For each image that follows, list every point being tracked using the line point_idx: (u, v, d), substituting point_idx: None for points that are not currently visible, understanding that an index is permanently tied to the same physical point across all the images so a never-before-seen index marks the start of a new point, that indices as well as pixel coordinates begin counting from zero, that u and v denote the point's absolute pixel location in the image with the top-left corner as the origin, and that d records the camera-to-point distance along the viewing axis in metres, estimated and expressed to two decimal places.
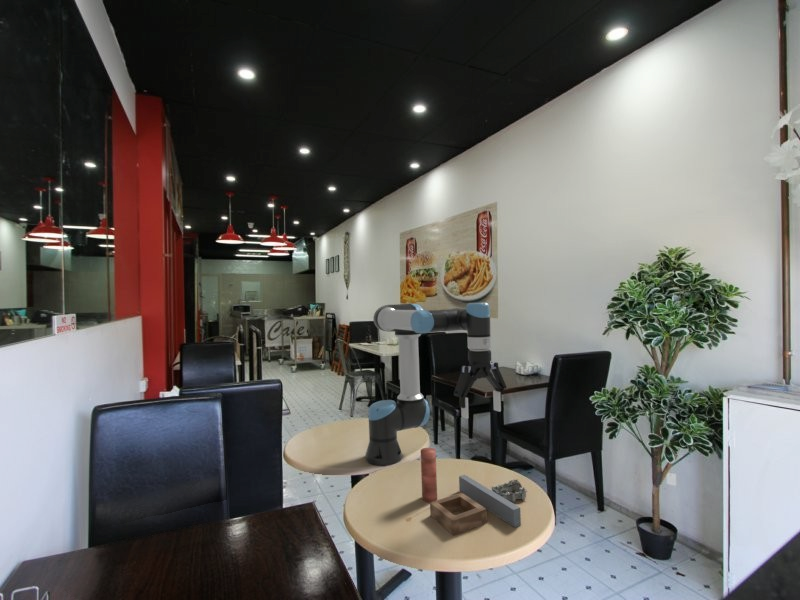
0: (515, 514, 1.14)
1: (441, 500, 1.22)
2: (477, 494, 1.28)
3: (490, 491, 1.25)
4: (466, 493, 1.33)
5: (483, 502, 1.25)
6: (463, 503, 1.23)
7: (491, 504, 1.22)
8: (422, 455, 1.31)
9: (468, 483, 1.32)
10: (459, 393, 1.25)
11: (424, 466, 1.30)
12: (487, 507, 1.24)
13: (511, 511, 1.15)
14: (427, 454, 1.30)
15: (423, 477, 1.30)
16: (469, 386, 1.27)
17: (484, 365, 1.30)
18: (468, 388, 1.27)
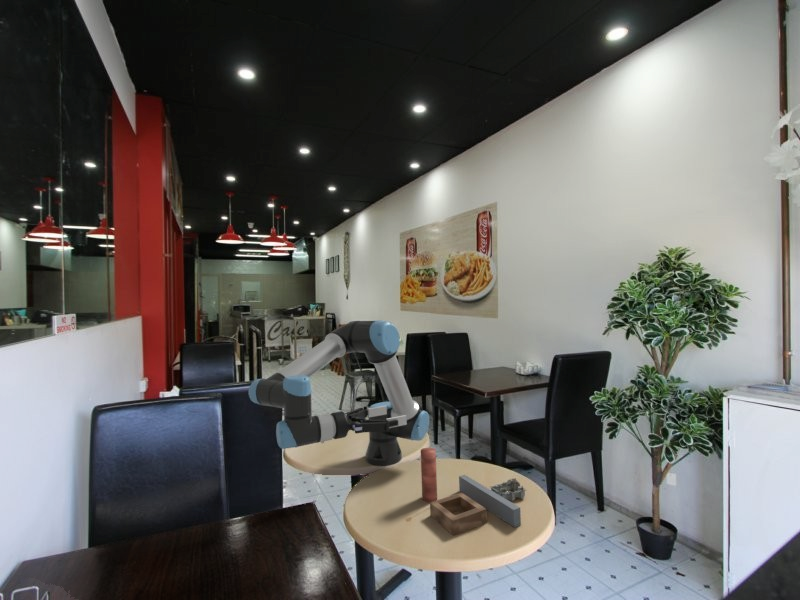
0: (515, 514, 1.14)
1: (441, 500, 1.22)
2: (477, 494, 1.28)
3: (490, 491, 1.25)
4: (466, 493, 1.33)
5: (483, 502, 1.25)
6: (463, 503, 1.23)
7: (491, 504, 1.22)
8: (422, 455, 1.31)
9: (468, 483, 1.32)
10: None
11: (424, 466, 1.30)
12: (487, 507, 1.24)
13: (511, 511, 1.15)
14: (427, 454, 1.30)
15: (423, 477, 1.30)
16: None
17: None
18: None
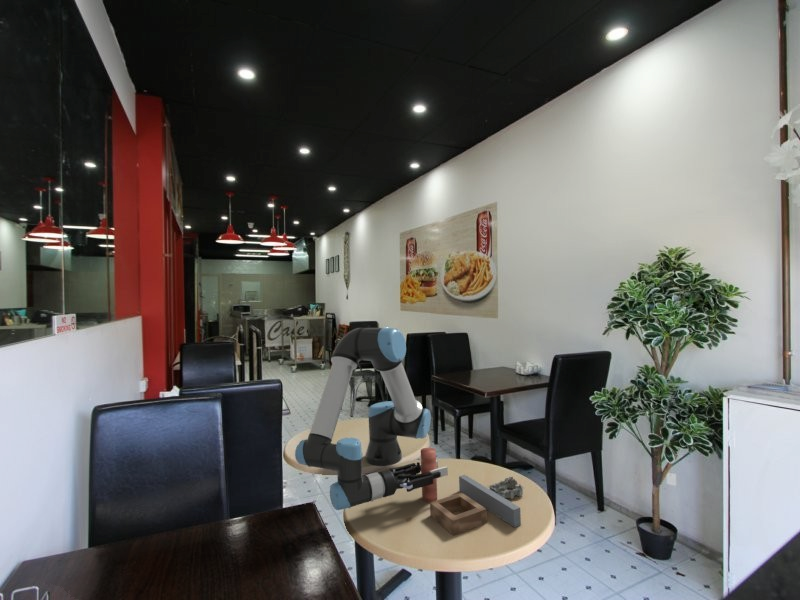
0: (515, 514, 1.14)
1: (441, 500, 1.22)
2: (477, 494, 1.28)
3: (490, 491, 1.25)
4: (466, 493, 1.33)
5: (483, 502, 1.25)
6: (463, 503, 1.23)
7: (491, 504, 1.22)
8: (422, 455, 1.31)
9: (468, 483, 1.32)
10: None
11: (424, 466, 1.30)
12: (487, 507, 1.24)
13: (511, 511, 1.15)
14: (427, 454, 1.30)
15: None
16: None
17: None
18: None
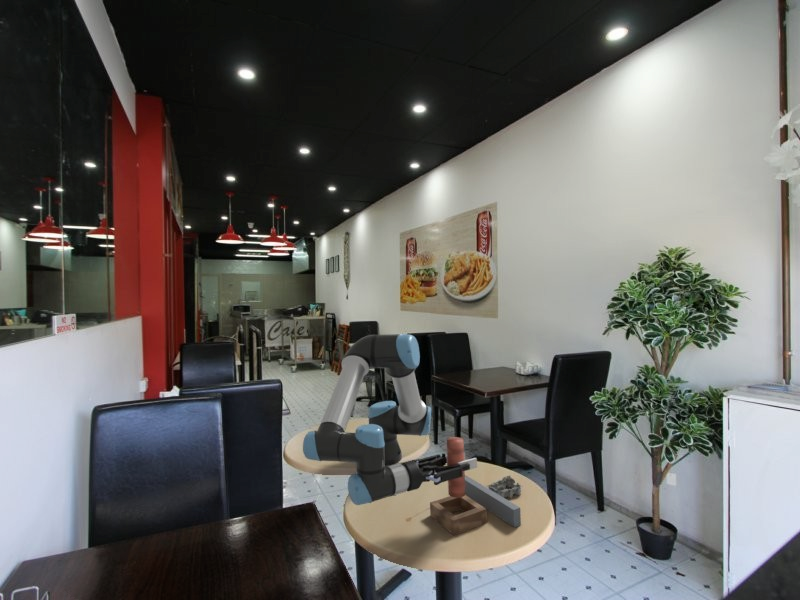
0: (515, 514, 1.14)
1: (441, 500, 1.22)
2: (477, 494, 1.28)
3: (490, 491, 1.25)
4: (466, 493, 1.33)
5: (483, 502, 1.25)
6: (463, 503, 1.23)
7: (491, 504, 1.22)
8: (449, 445, 1.17)
9: (468, 483, 1.32)
10: None
11: (451, 457, 1.17)
12: (487, 507, 1.24)
13: (511, 511, 1.15)
14: (455, 444, 1.16)
15: None
16: None
17: None
18: None
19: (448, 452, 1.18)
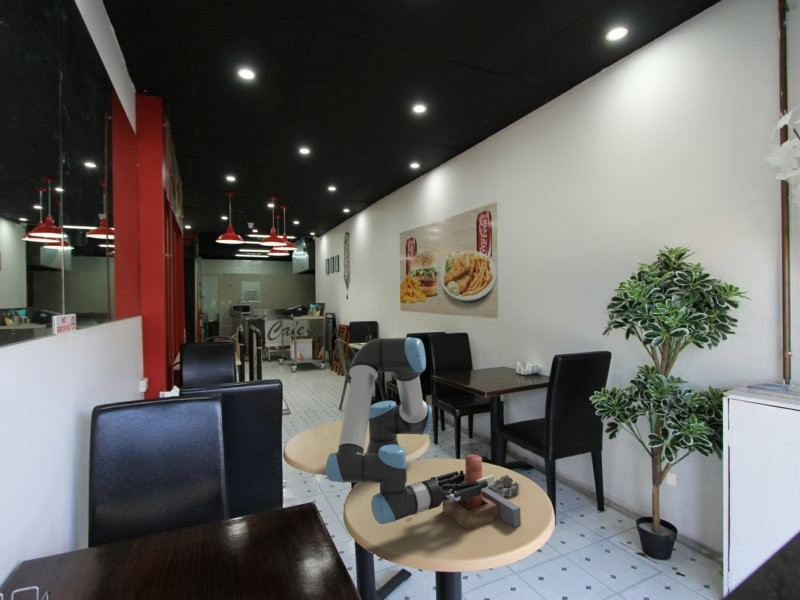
0: (515, 514, 1.14)
1: None
2: None
3: (490, 491, 1.25)
4: None
5: None
6: None
7: None
8: (468, 462, 1.21)
9: None
10: None
11: (469, 475, 1.20)
12: None
13: (511, 511, 1.15)
14: (474, 462, 1.20)
15: None
16: None
17: None
18: None
19: (467, 469, 1.21)
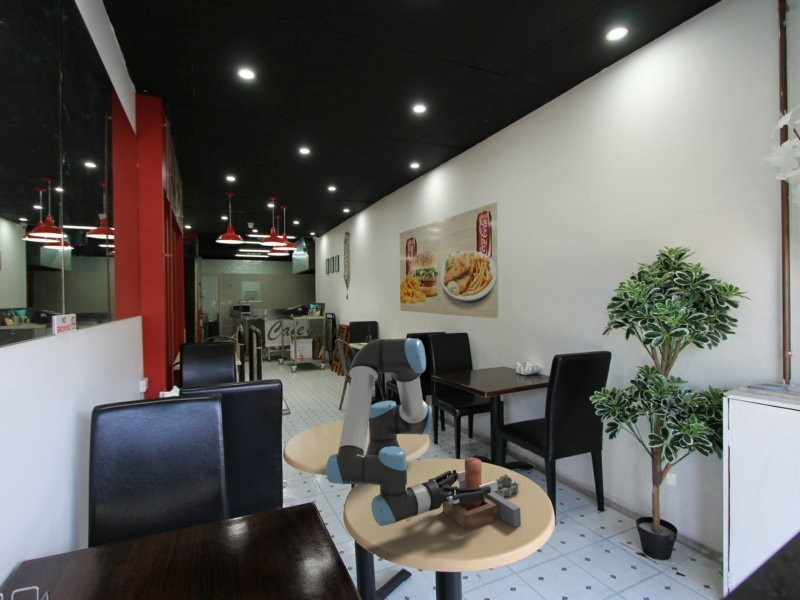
0: (515, 514, 1.14)
1: None
2: None
3: None
4: None
5: None
6: None
7: None
8: (467, 466, 1.21)
9: None
10: None
11: (468, 478, 1.20)
12: None
13: (511, 511, 1.15)
14: (473, 465, 1.20)
15: None
16: None
17: None
18: None
19: (466, 473, 1.21)
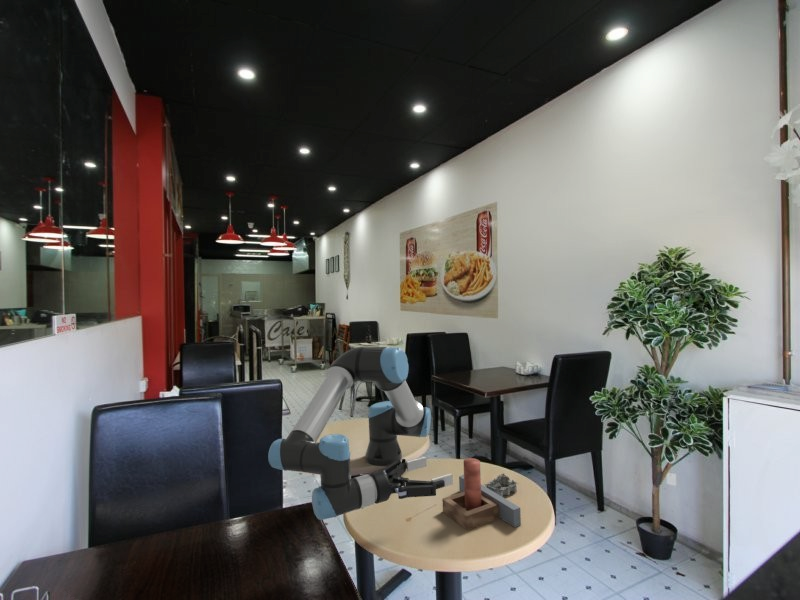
0: (515, 514, 1.14)
1: (453, 496, 1.25)
2: None
3: (490, 491, 1.25)
4: None
5: None
6: None
7: None
8: (466, 467, 1.20)
9: None
10: None
11: (467, 479, 1.20)
12: None
13: (511, 511, 1.15)
14: (472, 466, 1.19)
15: (467, 491, 1.20)
16: None
17: None
18: None
19: (465, 473, 1.21)
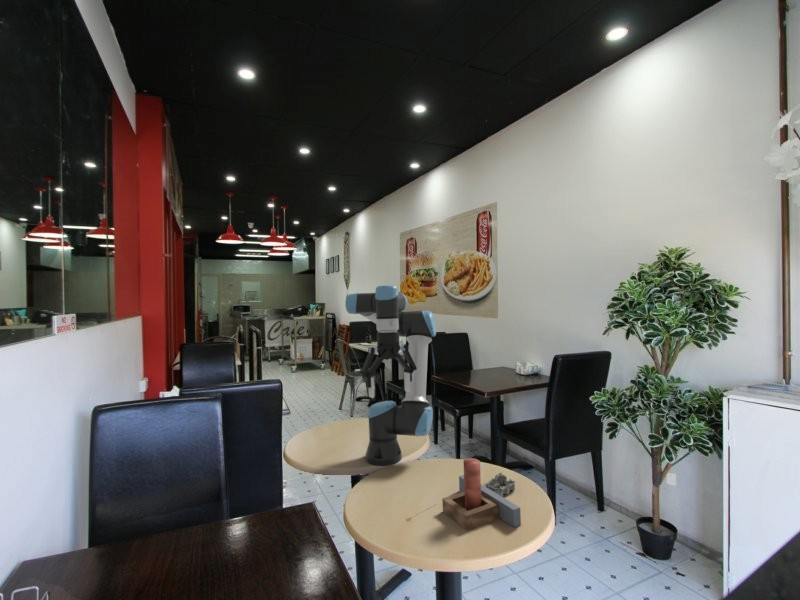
0: (515, 514, 1.14)
1: (453, 496, 1.25)
2: None
3: (490, 491, 1.25)
4: None
5: None
6: None
7: None
8: (466, 467, 1.20)
9: None
10: (364, 373, 1.28)
11: (467, 479, 1.20)
12: None
13: (511, 511, 1.15)
14: (472, 466, 1.19)
15: (467, 491, 1.20)
16: (375, 366, 1.30)
17: (392, 346, 1.33)
18: (374, 368, 1.30)
19: (465, 473, 1.21)
